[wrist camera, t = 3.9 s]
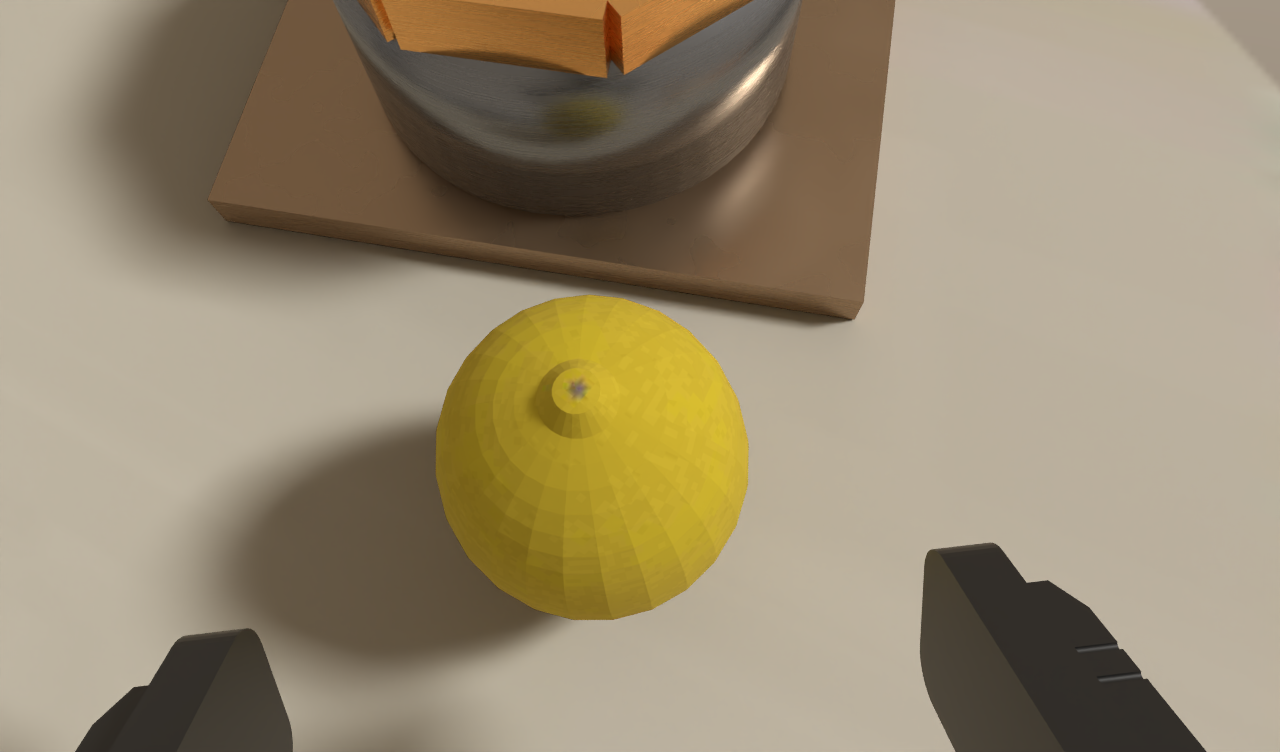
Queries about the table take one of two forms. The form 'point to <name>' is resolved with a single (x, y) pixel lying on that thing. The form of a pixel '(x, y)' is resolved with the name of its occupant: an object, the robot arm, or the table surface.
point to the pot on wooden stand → (580, 138)
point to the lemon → (591, 457)
